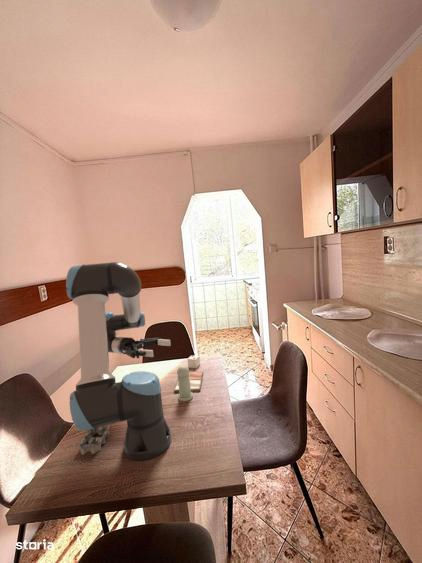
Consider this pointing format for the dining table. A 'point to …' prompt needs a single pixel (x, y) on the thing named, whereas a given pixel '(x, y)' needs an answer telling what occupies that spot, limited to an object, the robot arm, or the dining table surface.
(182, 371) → the pawn
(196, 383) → the board
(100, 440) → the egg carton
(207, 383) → the dining table surface
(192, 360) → the die
